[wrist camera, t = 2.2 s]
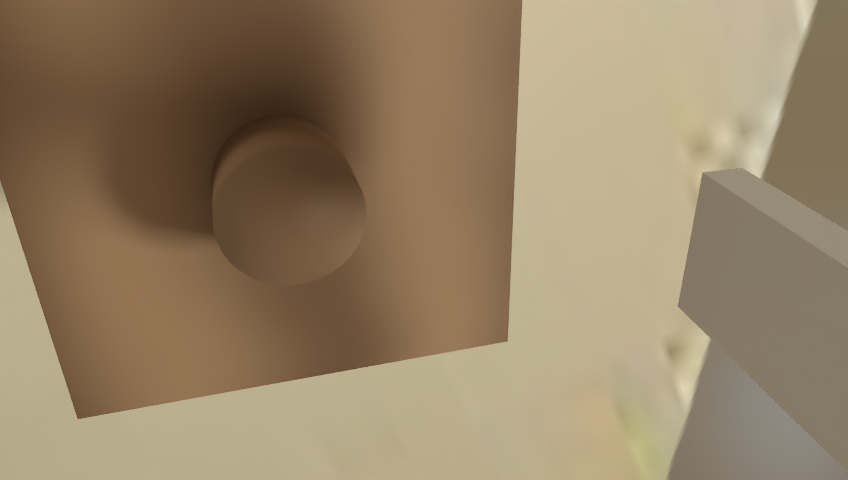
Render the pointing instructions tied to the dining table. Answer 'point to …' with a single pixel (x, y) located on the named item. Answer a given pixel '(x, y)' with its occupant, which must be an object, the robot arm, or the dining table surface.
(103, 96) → the lid
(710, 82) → the dining table surface
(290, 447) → the dining table surface
